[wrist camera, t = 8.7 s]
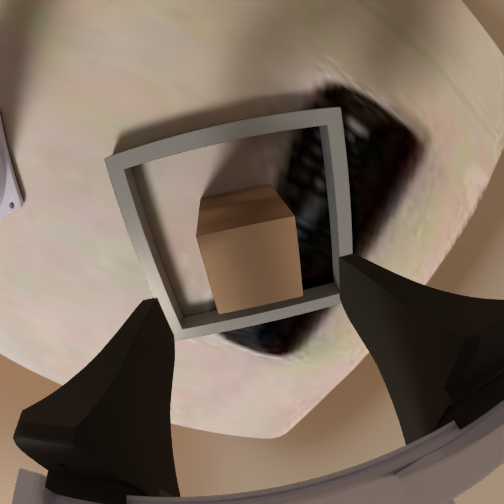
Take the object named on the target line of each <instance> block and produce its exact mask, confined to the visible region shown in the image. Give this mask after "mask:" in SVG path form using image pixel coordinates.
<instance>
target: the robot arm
mask: <svg viewBox="0 0 504 504" xmlns="http://www.w3.org/2000/svg"><path fill="white" fill-rule="evenodd" d="M12 202H13V203H14V206H13V205H12ZM22 206H23V199H22V196H21V193H20V190H19V187H18V184H17V181H16V177H15V174H14V171H13V167H12V164H11V160H10V156H9V152H8V148H7V144H6V140H5V135H4V131H3V126H2V121H1V115H0V218H2V217H4V216H6V215H8V214H10V213H12V212H14V211H16V210H18V209H20V208H21V207H22ZM339 289H340V301H341V303H342V305H343V307H344V310H345V312H346V314H347V316H348V318H349V320H350V322H351V323H352V325H353V326H354V328H355V330H356V331H357V333H358V334H359V336H360V338H361V339H362V341H363V342H364V344H365V346H366V347H367V349H368V350H369V352H370V354H371V355H372V357H373V359H374V360H375V362H376V364H377V366H378V368H379V371H380V373H381V375H382V377H383V379H384V382H385V384H386V387H387V389H388V392H389V394H390V397H391V399H392V402H393V405H394V407H395V410H396V413H397V416H398V419H399V422H400V425H401V429H402V432H403V436H404V439H405V443H406V446H404V447H401V448H399V449H397V450H395V451H392V452H390V453H388V454H385V455H383V456H380V457H378V458H375V459H373V460H370V461H368V462H365V463H362V464H359V465H357V466H354V467H351V468H348V469H345V470H342V471H338V472H335V473H332V474H329V475H325V476H322V477H318V478H314V479H310V480H306V481H303V482H298V483H294V484H289V485H285V486H280V487H275V488H269V489H263V490H257V491H250V492H243V493H235V494H226V495H215V496H199V497H180V492H179V488H178V483H177V477H176V472H175V465H174V458H173V449H172V439H171V424H170V402H171V391H172V381H173V371H174V361H175V343H174V334H173V332H172V330H171V328H170V325H169V323H168V321H167V319H166V316H165V314H164V312H163V310H162V307H161V305H160V303H159V300H158V298H152V299H147V300H143V301H142V302H141V303H140V304H139V306H138V307H137V308H136V309H135V310H134V312H133V313H132V314H131V315H130V317H129V318H128V319H127V320H126V322H125V323H124V324H123V326H122V327H121V328H120V329H119V331H118V332H117V333H116V334H115V335H114V337H113V338H112V339H111V340H110V341H109V342H108V344H107V345H106V346H105V347H104V348H103V349H102V351H101V352H100V353H99V354H98V355H97V356H96V357H95V358H94V359H93V360H92V361H91V362H90V363H89V364H88V365H87V366H86V367H85V368H84V369H82V370H81V371H80V372H79V373H78V374H77V375H75V376H74V377H73V378H72V379H71V380H69V381H68V382H67V383H66V384H64V385H63V386H62V387H60V388H59V389H58V390H56V391H55V392H53V393H52V394H51V395H49V396H47V397H46V398H44V399H42V400H41V401H39V402H37V403H35V404H34V405H32V406H30V407H28V408H26V409H24V410H23V411H22V413H21V416H20V419H19V421H18V425H17V427H16V430H15V433H14V437H13V439H14V441H15V443H16V445H17V446H18V447H19V448H20V449H21V450H22V451H23V452H24V453H25V454H26V455H28V456H29V457H30V458H32V459H33V460H34V461H36V462H37V463H38V464H40V465H41V466H43V467H44V468H46V469H47V470H48V474H47V477H46V476H44V475H42V474H39V473H36V472H32V471H29V470H25V469H22V468H21V469H19V473H18V477H17V481H16V487H15V491H14V496H13V501H12V504H455V502H454V500H453V499H454V498H456V497H457V496H459V495H460V494H462V493H463V492H465V491H466V490H468V489H469V488H471V487H472V486H474V485H475V484H477V483H478V482H479V481H481V480H482V479H483V478H485V477H486V476H488V475H489V474H490V473H491V472H493V471H494V470H495V469H497V468H498V467H499V466H500V465H502V464H503V463H504V300H495V299H482V298H474V297H468V296H462V295H457V294H453V293H449V292H444V291H441V290H437V289H434V288H431V287H428V286H425V285H422V284H419V283H417V282H414V281H412V280H409V279H407V278H404V277H402V276H400V275H398V274H395V273H393V272H391V271H389V270H387V269H385V268H383V267H381V266H378V265H376V264H374V263H372V262H370V261H368V260H366V259H364V258H362V257H360V256H358V255H355V254H349V255H345V256H341V257H339Z"/></svg>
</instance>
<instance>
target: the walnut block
mask: <svg viewBox="0 0 504 504" xmlns="http://www.w3.org/2000/svg"><path fill="white" fill-rule="evenodd" d="M196 238H197V242H198V245H199V249H200V252H201V256H202V259H203V263H204V266H205V270H206V273H207V277H208V280H209V284H210V287H211V290H212V294H213V297H214V300H215V304H216V307H217V310H218V313H219V314H223V313H228V312H233V311H238V310H243V309H247V308H252V307H257V306H261V305H266V304H270V303H275V302H279V301H284V300H288V299H292V298H296V297H301V296H303V288H302V278H301V268H300V258H299V249H298V240H297V231H296V223H295V216H294V214H293V213H292V212H291V210H290V209H289V208H288V207H287V205H286V204H285V203H284V201H283V200H282V199H281V197H280V196H279V195H278V194H277V192H276V191H275V190H274V188H273V187H272V186H271V185H265V186H259V187H254V188H249V189H244V190H239V191H234V192H230V193H225V194H220V195H216V196H211V197H207V198H202V199H201V200H200V208H199V216H198V225H197V233H196Z"/></svg>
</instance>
